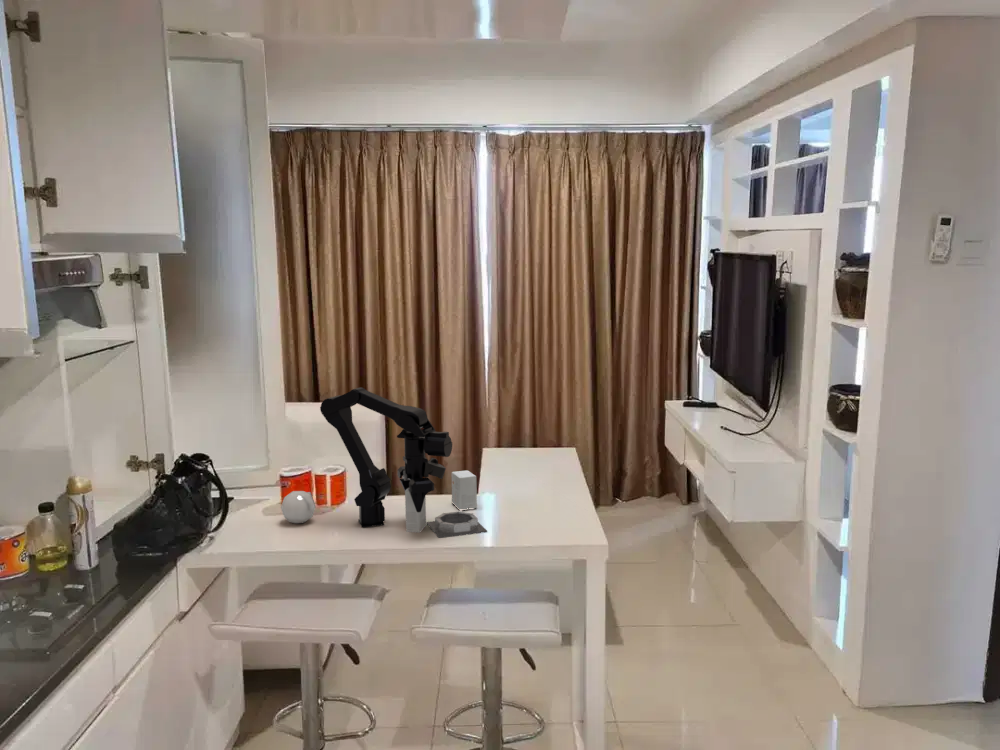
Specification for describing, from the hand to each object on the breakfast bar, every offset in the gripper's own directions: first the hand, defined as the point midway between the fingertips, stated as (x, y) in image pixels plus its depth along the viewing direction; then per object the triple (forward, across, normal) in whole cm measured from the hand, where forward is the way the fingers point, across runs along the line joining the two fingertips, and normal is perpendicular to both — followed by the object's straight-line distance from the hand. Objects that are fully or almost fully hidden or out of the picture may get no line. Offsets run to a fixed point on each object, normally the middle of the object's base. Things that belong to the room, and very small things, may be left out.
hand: (415, 508), depth 212 cm
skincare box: (+6, 0, 0) cm, 6 cm away
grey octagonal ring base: (+6, -3, -11) cm, 13 cm away
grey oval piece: (+6, +20, +30) cm, 37 cm away
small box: (+6, +15, -19) cm, 25 cm away
